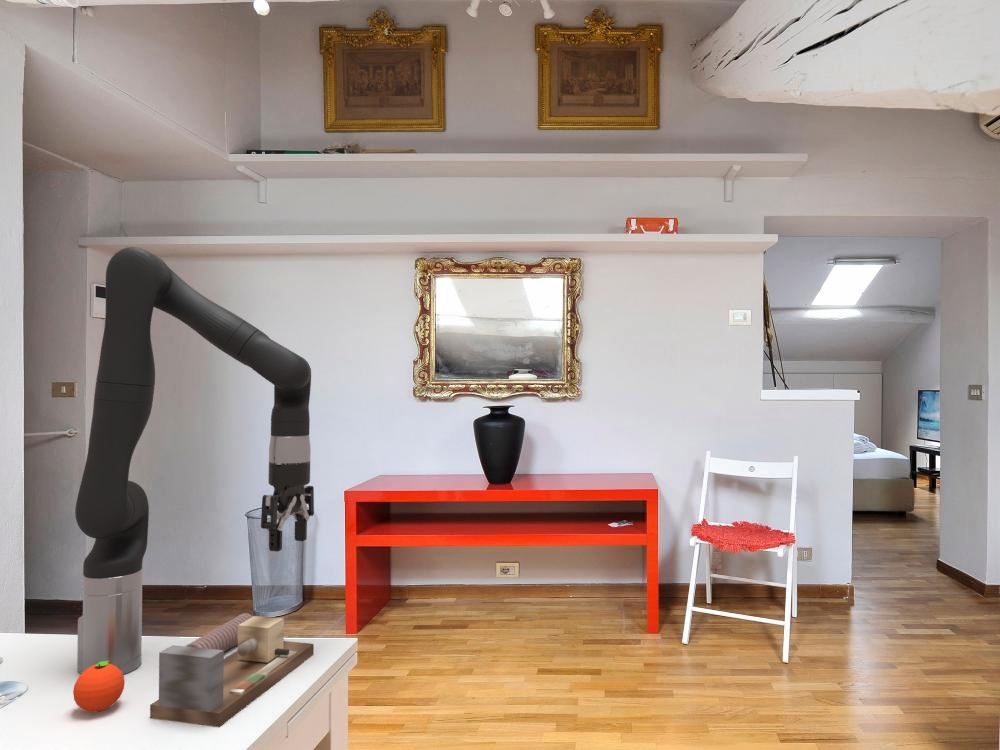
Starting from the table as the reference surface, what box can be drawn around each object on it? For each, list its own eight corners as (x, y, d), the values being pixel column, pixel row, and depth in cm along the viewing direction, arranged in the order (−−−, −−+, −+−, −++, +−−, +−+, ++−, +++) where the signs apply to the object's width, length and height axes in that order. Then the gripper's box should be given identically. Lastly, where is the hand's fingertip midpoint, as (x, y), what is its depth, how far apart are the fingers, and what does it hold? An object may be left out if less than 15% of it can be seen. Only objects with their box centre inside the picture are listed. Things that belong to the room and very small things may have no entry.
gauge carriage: (227, 666, 116) (227, 631, 116) (254, 648, 124) (254, 616, 124) (270, 670, 114) (270, 635, 114) (295, 652, 122) (295, 619, 122)
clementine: (86, 698, 109) (87, 654, 109) (133, 694, 110) (133, 651, 110) (64, 722, 101) (65, 674, 101) (115, 718, 102) (115, 671, 102)
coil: (203, 647, 120) (259, 613, 137) (180, 642, 121) (239, 610, 138) (201, 673, 120) (257, 636, 137) (178, 668, 121) (237, 632, 138)
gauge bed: (150, 717, 102) (150, 651, 103) (256, 648, 130) (257, 596, 130) (219, 726, 100) (219, 658, 100) (313, 654, 127) (313, 601, 127)
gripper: (292, 455, 135) (291, 536, 135) (249, 462, 121) (247, 553, 121) (326, 456, 133) (325, 538, 133) (286, 464, 119) (285, 556, 119)
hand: (288, 545), depth 127 cm, fingers open, 8 cm apart
